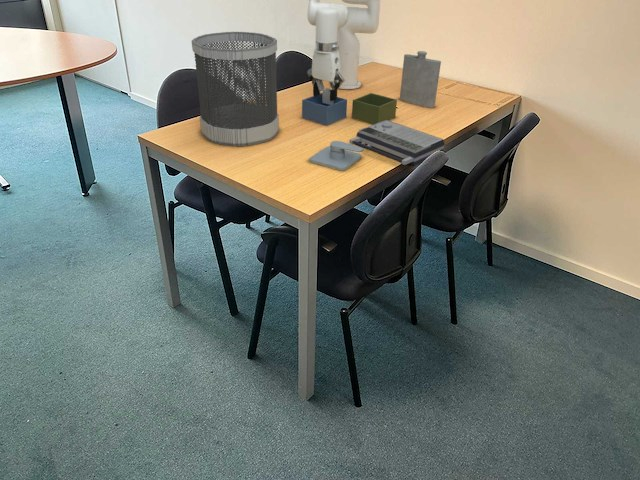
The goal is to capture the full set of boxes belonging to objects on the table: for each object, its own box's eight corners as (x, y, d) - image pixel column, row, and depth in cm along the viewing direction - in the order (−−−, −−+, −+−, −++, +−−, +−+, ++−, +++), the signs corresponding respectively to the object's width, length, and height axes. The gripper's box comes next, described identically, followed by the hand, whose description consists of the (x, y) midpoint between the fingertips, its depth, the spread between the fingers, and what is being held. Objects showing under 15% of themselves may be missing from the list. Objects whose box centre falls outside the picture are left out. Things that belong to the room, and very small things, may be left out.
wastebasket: (220, 151, 166) (212, 53, 150) (192, 126, 184) (181, 36, 168) (290, 136, 177) (289, 44, 161) (257, 114, 195) (253, 29, 179)
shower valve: (352, 156, 152) (308, 144, 158) (351, 173, 155) (308, 161, 161) (371, 142, 161) (329, 132, 167) (370, 159, 164) (328, 148, 170)
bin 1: (301, 118, 193) (302, 99, 190) (321, 110, 201) (322, 92, 197) (326, 125, 187) (327, 107, 184) (346, 117, 195) (347, 99, 191)
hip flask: (436, 106, 208) (443, 54, 197) (430, 109, 205) (437, 56, 195) (402, 97, 217) (407, 47, 206) (396, 99, 214) (402, 48, 203)
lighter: (333, 103, 190) (334, 81, 186) (330, 104, 189) (331, 82, 184) (318, 99, 194) (318, 77, 189) (315, 100, 192) (315, 78, 188)
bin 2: (351, 118, 195) (352, 100, 191) (369, 110, 202) (370, 92, 199) (377, 125, 189) (379, 107, 185) (395, 117, 196) (397, 99, 193)
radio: (446, 136, 167) (407, 153, 155) (443, 152, 170) (405, 169, 158) (386, 116, 181) (347, 130, 169) (385, 131, 184) (346, 146, 172)
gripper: (353, 49, 179) (350, 100, 188) (313, 40, 188) (313, 90, 197) (339, 52, 174) (337, 105, 183) (300, 44, 183) (299, 94, 192)
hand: (324, 97), depth 190 cm, fingers closed on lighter, 7 cm apart
